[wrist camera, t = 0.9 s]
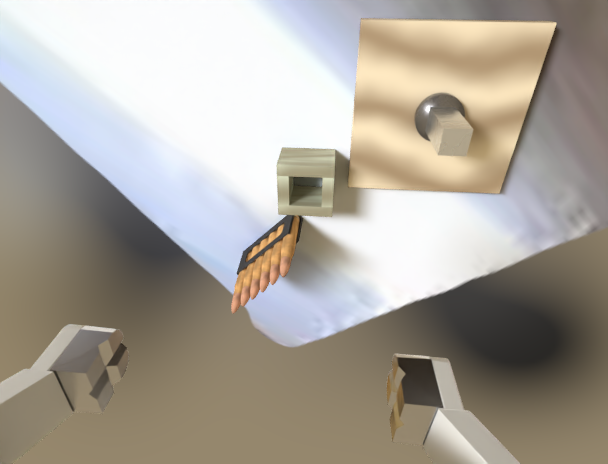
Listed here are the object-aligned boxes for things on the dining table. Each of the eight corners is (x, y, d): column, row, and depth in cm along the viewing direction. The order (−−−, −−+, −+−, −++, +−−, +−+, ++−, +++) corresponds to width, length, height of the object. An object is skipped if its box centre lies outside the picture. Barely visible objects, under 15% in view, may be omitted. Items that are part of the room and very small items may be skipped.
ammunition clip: (293, 209, 51) (282, 267, 41) (303, 218, 52) (294, 277, 42) (243, 251, 56) (222, 312, 46) (252, 259, 57) (234, 320, 47)
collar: (282, 147, 46) (276, 165, 42) (335, 149, 46) (335, 167, 42) (283, 194, 50) (278, 214, 46) (332, 196, 49) (332, 216, 45)
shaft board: (360, 18, 38) (365, 30, 30) (549, 21, 37) (601, 34, 29) (348, 181, 48) (349, 220, 41) (495, 187, 47) (523, 228, 40)
